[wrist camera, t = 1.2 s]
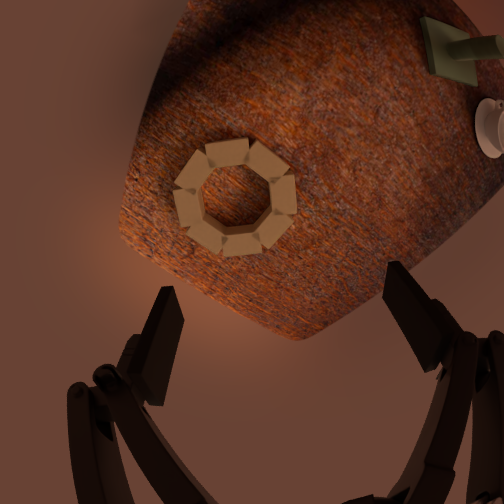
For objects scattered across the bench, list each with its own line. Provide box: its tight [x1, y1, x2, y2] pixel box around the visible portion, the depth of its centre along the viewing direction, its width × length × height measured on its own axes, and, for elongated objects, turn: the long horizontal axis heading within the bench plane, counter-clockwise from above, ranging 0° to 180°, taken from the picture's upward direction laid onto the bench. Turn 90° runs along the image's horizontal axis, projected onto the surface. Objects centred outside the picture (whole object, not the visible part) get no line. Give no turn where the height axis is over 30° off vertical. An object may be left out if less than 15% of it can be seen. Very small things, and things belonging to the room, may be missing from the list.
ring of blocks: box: [173, 137, 297, 257], centre depth 31 cm, size 14×14×3 cm
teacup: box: [475, 98, 504, 158], centre depth 24 cm, size 10×10×5 cm
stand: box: [420, 16, 504, 87], centre depth 16 cm, size 9×9×12 cm
